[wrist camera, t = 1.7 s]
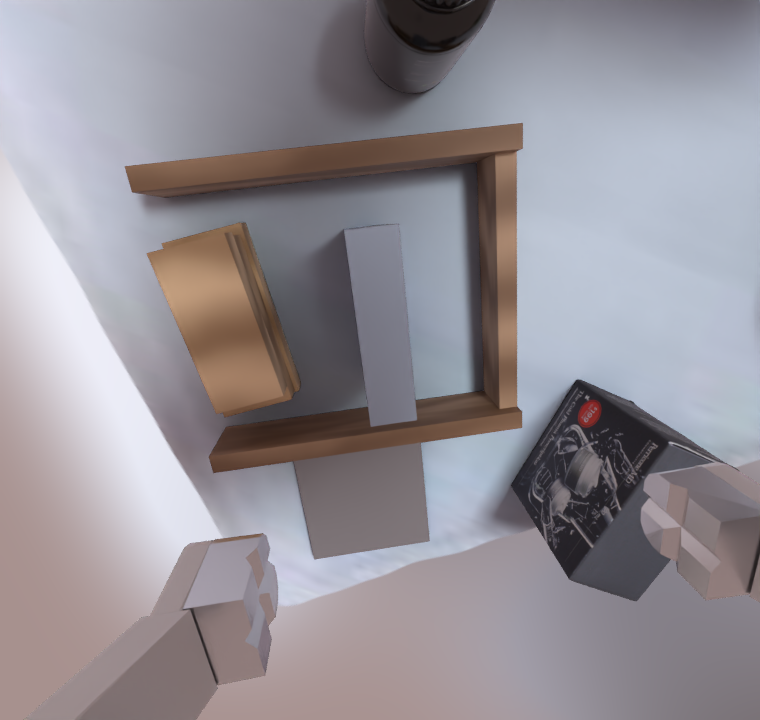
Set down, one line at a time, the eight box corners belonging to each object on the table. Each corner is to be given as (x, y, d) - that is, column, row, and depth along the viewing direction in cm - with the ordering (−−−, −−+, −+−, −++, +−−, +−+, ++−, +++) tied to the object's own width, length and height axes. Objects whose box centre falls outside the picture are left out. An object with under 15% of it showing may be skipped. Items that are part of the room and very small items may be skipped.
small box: (575, 375, 38) (673, 438, 27) (631, 400, 40) (747, 470, 28) (507, 486, 42) (569, 583, 30) (561, 505, 43) (639, 605, 32)
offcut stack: (172, 242, 32) (135, 246, 26) (246, 222, 32) (225, 222, 26) (236, 399, 36) (216, 431, 30) (301, 382, 36) (293, 411, 30)
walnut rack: (159, 175, 30) (124, 166, 25) (495, 138, 31) (522, 123, 26) (229, 441, 37) (213, 472, 32) (499, 402, 38) (522, 427, 34)
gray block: (343, 229, 32) (344, 230, 22) (380, 224, 32) (398, 223, 22) (362, 368, 36) (370, 426, 26) (395, 364, 36) (417, 419, 26)
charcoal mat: (293, 453, 38) (292, 458, 37) (418, 435, 39) (420, 439, 38) (314, 553, 42) (314, 559, 41) (428, 535, 42) (429, 541, 42)
